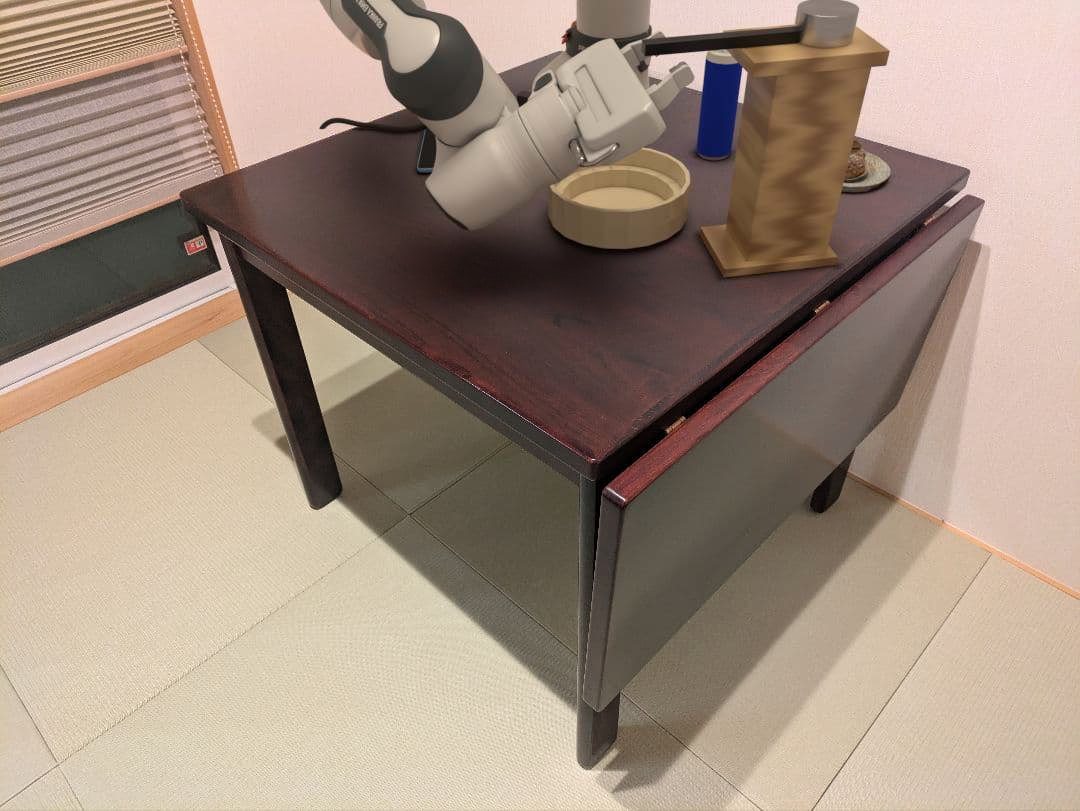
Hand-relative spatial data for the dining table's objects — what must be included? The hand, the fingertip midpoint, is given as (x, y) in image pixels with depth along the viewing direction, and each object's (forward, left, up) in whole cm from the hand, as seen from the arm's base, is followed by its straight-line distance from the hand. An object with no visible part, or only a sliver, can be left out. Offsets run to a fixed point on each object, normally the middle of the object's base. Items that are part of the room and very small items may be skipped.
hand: (677, 53), depth 81 cm
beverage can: (-2, +31, -25) cm, 40 cm away
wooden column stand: (+11, +7, -25) cm, 28 cm away
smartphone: (-41, +18, -25) cm, 51 cm away
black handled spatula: (+6, +4, 0) cm, 7 cm away
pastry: (+17, +31, -25) cm, 43 cm away
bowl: (-9, +8, -25) cm, 27 cm away
